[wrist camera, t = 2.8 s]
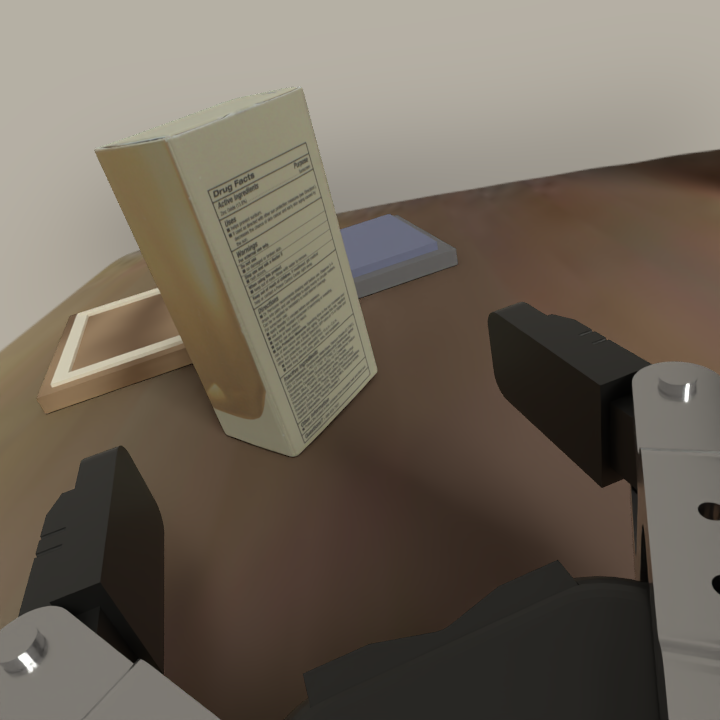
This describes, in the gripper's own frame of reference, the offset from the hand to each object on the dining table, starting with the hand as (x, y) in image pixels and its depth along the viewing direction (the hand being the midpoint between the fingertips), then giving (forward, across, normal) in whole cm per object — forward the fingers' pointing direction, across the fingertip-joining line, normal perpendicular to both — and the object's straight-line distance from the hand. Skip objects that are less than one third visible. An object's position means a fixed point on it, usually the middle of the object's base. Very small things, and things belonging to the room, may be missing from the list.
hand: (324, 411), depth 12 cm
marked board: (+25, +6, +7) cm, 27 cm away
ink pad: (+25, -7, +7) cm, 27 cm away
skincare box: (+11, 0, +7) cm, 13 cm away
